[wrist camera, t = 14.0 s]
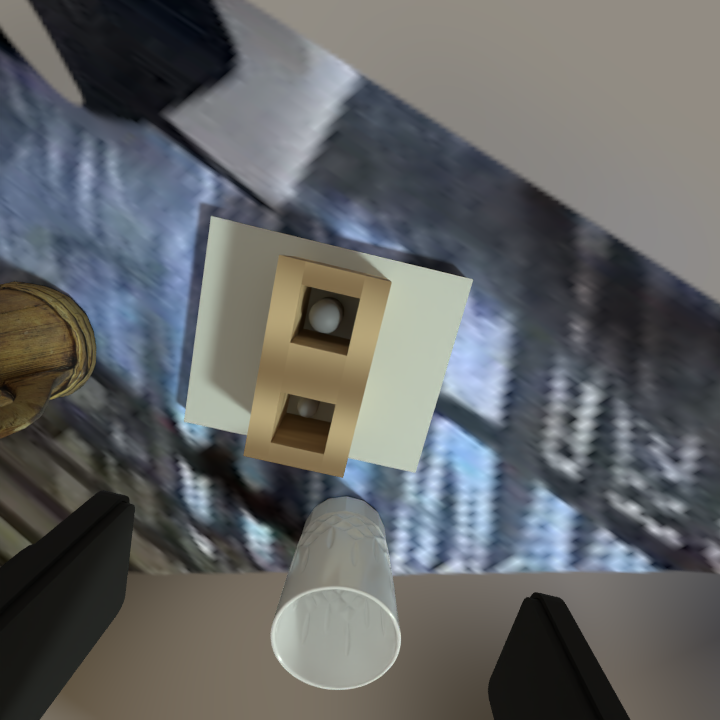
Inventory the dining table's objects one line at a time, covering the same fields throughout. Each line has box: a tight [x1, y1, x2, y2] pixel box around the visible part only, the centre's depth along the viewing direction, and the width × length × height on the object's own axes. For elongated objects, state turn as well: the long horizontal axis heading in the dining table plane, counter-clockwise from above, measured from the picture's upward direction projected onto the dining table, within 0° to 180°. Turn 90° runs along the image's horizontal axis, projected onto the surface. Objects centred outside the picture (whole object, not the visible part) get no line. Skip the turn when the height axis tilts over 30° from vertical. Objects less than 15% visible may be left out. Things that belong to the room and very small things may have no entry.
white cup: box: [271, 496, 401, 690], centre depth 28 cm, size 8×8×10 cm
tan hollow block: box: [244, 255, 392, 478], centre depth 25 cm, size 12×6×5 cm, turn 167°
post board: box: [184, 216, 473, 472], centre depth 26 cm, size 18×15×6 cm
